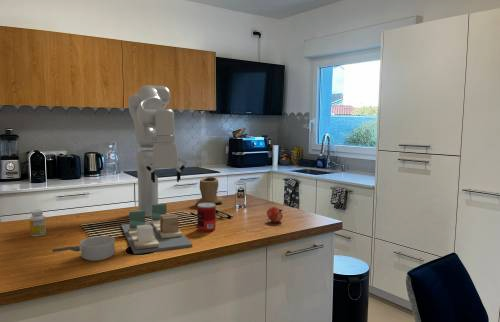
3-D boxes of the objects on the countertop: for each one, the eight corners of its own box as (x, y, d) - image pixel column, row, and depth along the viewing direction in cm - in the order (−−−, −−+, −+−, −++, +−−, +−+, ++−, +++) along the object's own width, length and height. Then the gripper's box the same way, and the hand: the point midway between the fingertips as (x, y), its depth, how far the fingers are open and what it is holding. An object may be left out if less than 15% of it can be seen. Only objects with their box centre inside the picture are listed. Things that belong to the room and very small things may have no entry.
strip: (150, 222, 173) (149, 204, 172) (167, 220, 177) (167, 203, 176) (162, 238, 151) (161, 218, 150) (182, 235, 154) (182, 216, 153)
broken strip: (127, 230, 160) (126, 211, 159) (146, 228, 164) (146, 209, 163) (136, 249, 138) (136, 227, 137) (159, 246, 142) (159, 225, 141)
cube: (160, 229, 159) (160, 215, 158) (174, 227, 161) (174, 213, 160) (163, 233, 153) (163, 218, 152) (178, 231, 156) (178, 217, 155)
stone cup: (202, 207, 208) (202, 179, 206) (194, 202, 219) (194, 176, 217) (227, 204, 215) (228, 177, 214) (219, 200, 226) (219, 174, 224)
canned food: (218, 227, 171) (218, 203, 169) (211, 233, 163) (211, 207, 162) (201, 226, 173) (201, 201, 172) (194, 231, 165) (194, 205, 164)
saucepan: (48, 261, 130) (48, 245, 129) (108, 248, 143) (108, 233, 142) (58, 272, 121) (57, 254, 121) (121, 257, 134) (120, 241, 134)
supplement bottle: (31, 233, 159) (30, 209, 158) (46, 232, 161) (45, 209, 160) (29, 237, 154) (28, 213, 153) (44, 235, 156) (43, 212, 155)
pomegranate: (265, 227, 180) (279, 217, 174) (258, 213, 183) (273, 203, 177) (275, 226, 186) (289, 216, 180) (268, 212, 188) (283, 202, 183)
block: (137, 238, 146) (136, 225, 146) (150, 237, 148) (150, 224, 148) (139, 242, 142) (139, 229, 141) (153, 241, 144) (153, 227, 143)
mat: (121, 226, 170) (121, 224, 170) (169, 221, 179) (169, 219, 179) (134, 254, 137) (134, 251, 137) (192, 246, 146) (192, 244, 146)
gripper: (142, 140, 153) (143, 183, 154) (186, 140, 156) (187, 182, 157) (144, 140, 161) (145, 181, 162) (186, 139, 163) (187, 180, 164)
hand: (166, 181), depth 159 cm, fingers open, 9 cm apart
